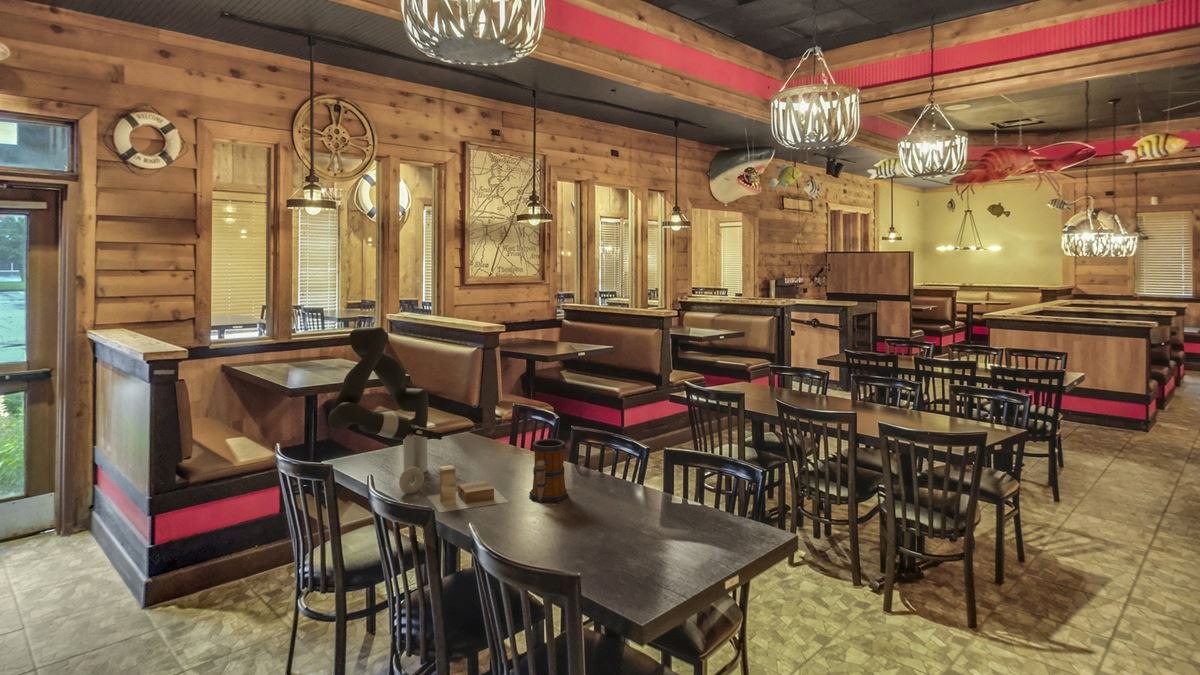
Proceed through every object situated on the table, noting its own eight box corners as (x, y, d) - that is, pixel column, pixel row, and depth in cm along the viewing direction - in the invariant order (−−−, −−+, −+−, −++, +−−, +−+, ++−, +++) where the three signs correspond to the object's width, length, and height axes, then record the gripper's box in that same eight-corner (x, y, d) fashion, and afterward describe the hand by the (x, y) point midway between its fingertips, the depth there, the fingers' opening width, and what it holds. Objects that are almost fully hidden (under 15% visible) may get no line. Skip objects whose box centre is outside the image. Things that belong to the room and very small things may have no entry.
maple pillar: (439, 500, 238) (439, 466, 237) (452, 498, 240) (451, 465, 239) (442, 504, 234) (442, 470, 233) (455, 502, 236) (455, 468, 235)
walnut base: (458, 495, 244) (457, 484, 244) (485, 491, 248) (485, 480, 248) (465, 504, 235) (465, 492, 235) (494, 499, 240) (494, 488, 239)
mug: (560, 511, 230) (560, 453, 228) (518, 508, 233) (518, 450, 231) (573, 493, 249) (573, 438, 247) (535, 490, 252) (535, 436, 250)
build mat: (427, 497, 243) (427, 495, 243) (492, 488, 254) (492, 486, 254) (439, 513, 227) (439, 512, 227) (508, 503, 238) (508, 501, 238)
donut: (403, 498, 242) (402, 470, 241) (397, 496, 244) (396, 469, 243) (426, 491, 249) (426, 464, 248) (420, 489, 252) (420, 462, 250)
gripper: (403, 416, 221) (448, 426, 231) (386, 413, 232) (429, 423, 242) (397, 439, 220) (442, 448, 230) (380, 435, 231) (424, 444, 241)
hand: (435, 435), depth 236 cm, fingers open, 8 cm apart
